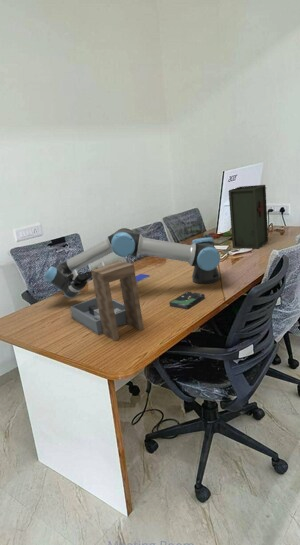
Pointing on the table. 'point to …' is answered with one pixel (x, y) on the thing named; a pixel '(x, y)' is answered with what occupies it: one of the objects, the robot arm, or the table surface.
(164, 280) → the table surface
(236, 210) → the first aid box
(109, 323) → the bridge
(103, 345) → the table surface
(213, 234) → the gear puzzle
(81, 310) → the tray
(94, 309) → the t handle
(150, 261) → the table surface
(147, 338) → the table surface
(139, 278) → the hard drive
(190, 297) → the disk drive
